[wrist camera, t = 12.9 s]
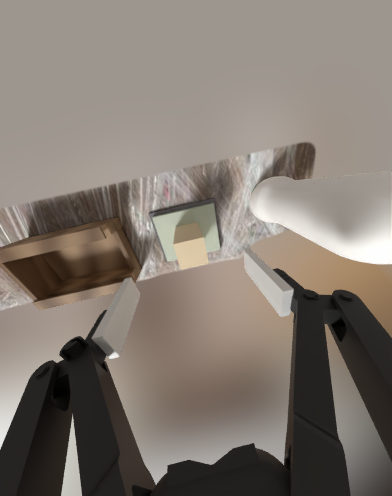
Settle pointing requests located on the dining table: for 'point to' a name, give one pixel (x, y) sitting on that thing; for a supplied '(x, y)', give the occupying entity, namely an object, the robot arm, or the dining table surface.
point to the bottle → (333, 212)
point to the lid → (188, 235)
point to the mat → (179, 210)
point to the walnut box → (72, 263)
